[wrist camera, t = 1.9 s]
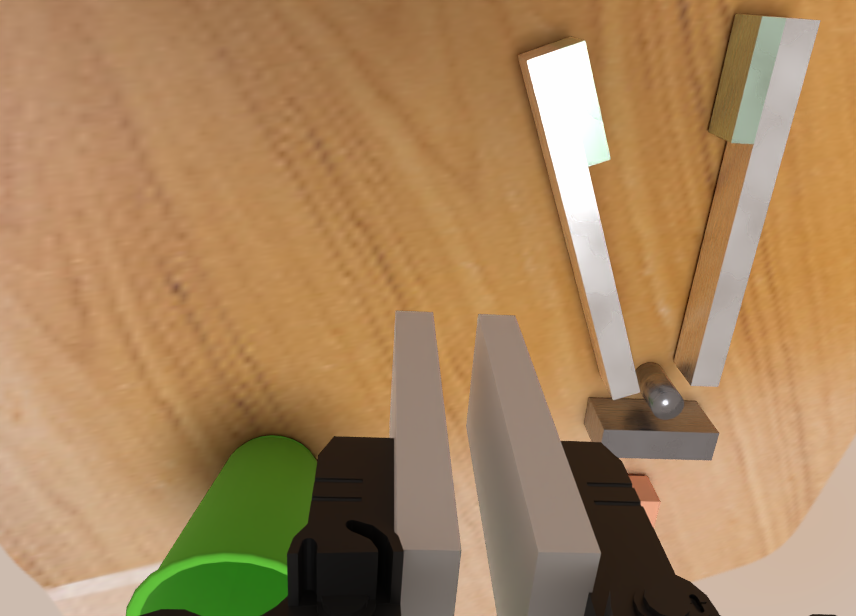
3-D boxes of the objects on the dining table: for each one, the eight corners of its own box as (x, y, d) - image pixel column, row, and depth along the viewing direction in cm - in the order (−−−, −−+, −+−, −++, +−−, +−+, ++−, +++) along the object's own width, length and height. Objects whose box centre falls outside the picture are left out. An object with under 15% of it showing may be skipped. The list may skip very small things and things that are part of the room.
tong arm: (517, 55, 30) (526, 60, 28) (571, 36, 30) (585, 40, 28) (600, 376, 37) (612, 400, 35) (644, 362, 37) (660, 386, 35)
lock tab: (606, 475, 40) (617, 500, 38) (647, 476, 40) (660, 501, 38) (597, 516, 41) (608, 543, 39) (637, 516, 42) (649, 543, 40)
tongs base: (663, 8, 30) (690, 11, 27) (798, 18, 30) (838, 21, 28) (583, 423, 39) (598, 457, 36) (689, 427, 39) (711, 460, 37)
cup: (383, 440, 39) (379, 600, 29) (314, 553, 42) (290, 731, 32) (229, 377, 37) (168, 525, 27) (169, 500, 40) (94, 673, 30)
